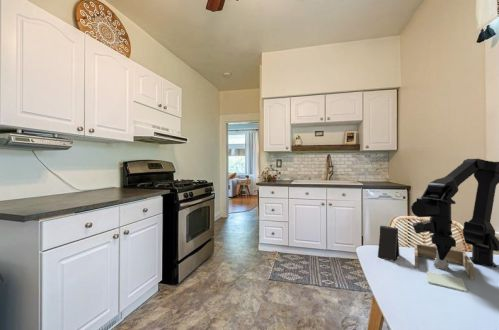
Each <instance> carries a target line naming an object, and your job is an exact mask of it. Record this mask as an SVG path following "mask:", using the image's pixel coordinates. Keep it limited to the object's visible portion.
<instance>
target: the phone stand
mask: <svg viewBox="0 0 499 330" xmlns="http://www.w3.org/2000/svg"><path fill="white" fill-rule="evenodd" d="M377 250H378V251H377V257H378V258H380V257H381V259H384V258H385V259H386V260H389V261H393V262H396V261H397V259H398V258H399V257H400V244H399V229H398V227H393V226H386V225H380V226H379V241H378V249H377ZM397 257H398V258H397ZM385 259H384V260H385Z"/></svg>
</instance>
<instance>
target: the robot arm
mask: <svg viewBox="0 0 499 330" xmlns="http://www.w3.org/2000/svg"><path fill="white" fill-rule="evenodd" d="M472 175H473V177H474V178H475V179H474V180H476V182H477V188H476V193H475V200H474V206H473V210H472V211H473V212H472V216H471V217H472V218H471V219H470V220H468V221H464V222H463V229H462V234H463V238H464V242H465V244H466V245H469V246H470V245H471V251H472V252H471V254H472V255H471V256H468V258H469V259H470V261H471V262H472V264H476V265H482V266H487V267H494V268H497V267H498V266H497V264H496V263H495V262H494V252H499V239H498V238H497V237H496V229H495V228H494V226H493V225H492V223H491V220H492V215H493V214H492V212H493V206H494V202H495V196H496V195H495V194H496V189H497V185H498V184H499V161H491V160H485V159H482V158H466V159H464V160H463V161H462V163H461V164H460V165H458V166H457V167H456V168H454V169H453V170H452V171H451V172H449V173H447V174H446V175H445V176H444V177H441V178H437V179H434V180H432V181H430V182H429V183H428V184H427V187H426V189H425V190H424V191H423V194H422V195H421V197H416V200H415V201H414V202H413V203H412V205H411V206H410V207H411V208H410V210H411V212H412V214H413V215H414V216H415V217H417V218H429V220H426V221H418V222H413V223H412V227H413V230H414V232H415V234H421V233H427V232H428V233H429V234H430V235H429V237H430V238H431V239H430V240H431V244H433V245H435V247H436V246H437V250H438V255H439V259H440V260H444V259H445V257H446V255H447V254H448V252H449V251H450V249H451V250H452V248H457V240H456V239H455V238H454V237H453V231H452V224H453V220H452V205H456V204H457V203H456V201H455V200H453V199H452V198H454V196H455V195H456V194H457V192H459V186H460V185H462V184H463V183H464V182H465V181H466V180H467V179H469V178H470V177H471V176H472Z"/></svg>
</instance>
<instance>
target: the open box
mask: <svg viewBox="0 0 499 330" xmlns="http://www.w3.org/2000/svg"><path fill="white" fill-rule="evenodd" d="M435 247H436V246H431V245H425V244H420V243H419V244H418V243H414V268H417V269H418V266H419V265H418V264H419V263H418V261H419V260H418V259H419V258H418V255H420V256H419V257H423V256H425V258H429V257H430V259H434V258H436V256H437V252H436V251H437V249H436V248H435ZM446 261H447V262H451V263H457V264H462V266H463V268H464V269H465V271H466V273H467V276H468V277H469V279H470V280H474V279H475V269H474V268H475V265H474V263H472V261H471V260H470V258H469V255H468V254H467V253H466V251H462V250H458V249H457V250H456V249H452V248H451V249H450V251H449V252H448V254H447V255H446Z"/></svg>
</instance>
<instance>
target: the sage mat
mask: <svg viewBox="0 0 499 330" xmlns="http://www.w3.org/2000/svg"><path fill="white" fill-rule="evenodd" d="M426 276H427V283H428V284H431V285H435V286H440V287H443V288H444V287H445V288H448V289H452V290H456V291H461V292H465V293H467V292H468V291H467V287H466V285H465V284H464V281H463V279H462V278H460V277H454V276H450V275H445V274H441V273H436V272H432V271H426Z"/></svg>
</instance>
